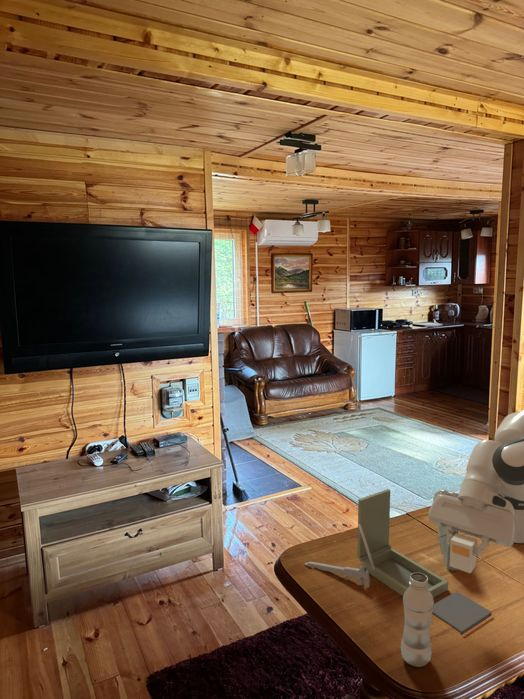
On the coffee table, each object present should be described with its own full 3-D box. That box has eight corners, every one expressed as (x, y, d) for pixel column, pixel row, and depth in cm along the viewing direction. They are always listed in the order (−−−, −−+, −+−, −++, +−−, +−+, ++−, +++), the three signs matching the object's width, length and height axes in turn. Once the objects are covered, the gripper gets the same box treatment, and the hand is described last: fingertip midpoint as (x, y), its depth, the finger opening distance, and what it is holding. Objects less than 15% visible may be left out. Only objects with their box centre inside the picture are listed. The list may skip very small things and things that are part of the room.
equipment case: (386, 553, 151) (387, 488, 148) (447, 591, 133) (451, 518, 130) (355, 567, 145) (356, 500, 141) (415, 609, 126) (418, 533, 123)
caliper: (369, 589, 135) (370, 567, 134) (368, 591, 134) (368, 569, 133) (305, 564, 147) (305, 544, 146) (303, 565, 146) (303, 546, 145)
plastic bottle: (394, 655, 112) (396, 573, 109) (417, 645, 114) (420, 565, 111) (413, 675, 106) (417, 590, 103) (438, 664, 109) (441, 581, 106)
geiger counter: (464, 528, 139) (450, 489, 163) (441, 525, 140) (429, 488, 165) (462, 573, 141) (447, 529, 165) (438, 571, 143) (427, 527, 167)
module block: (455, 558, 126) (456, 533, 125) (475, 565, 122) (477, 539, 121) (449, 566, 122) (450, 539, 121) (470, 573, 119) (471, 546, 118)
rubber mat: (456, 594, 132) (456, 591, 132) (491, 615, 124) (491, 612, 124) (426, 611, 126) (427, 607, 125) (461, 635, 117) (461, 631, 117)
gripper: (433, 483, 132) (418, 532, 126) (518, 504, 119) (505, 560, 113) (439, 493, 136) (424, 541, 130) (521, 515, 123) (509, 569, 117)
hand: (462, 550), depth 121 cm, fingers closed on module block, 5 cm apart
